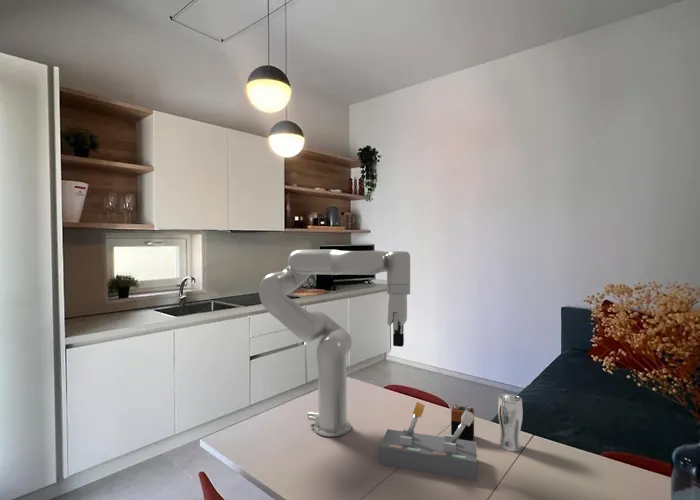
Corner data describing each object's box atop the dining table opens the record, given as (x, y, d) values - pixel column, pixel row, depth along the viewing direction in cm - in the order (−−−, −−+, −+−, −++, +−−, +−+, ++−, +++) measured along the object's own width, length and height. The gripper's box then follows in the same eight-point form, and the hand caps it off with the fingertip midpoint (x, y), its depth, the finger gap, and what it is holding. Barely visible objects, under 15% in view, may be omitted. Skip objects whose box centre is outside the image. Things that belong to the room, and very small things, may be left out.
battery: (473, 442, 122) (473, 410, 122) (451, 438, 124) (451, 407, 124) (474, 435, 126) (474, 405, 126) (452, 432, 128) (452, 402, 128)
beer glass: (521, 443, 121) (521, 395, 121) (523, 454, 115) (523, 403, 115) (497, 439, 124) (497, 392, 123) (498, 450, 117) (498, 400, 117)
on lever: (445, 445, 108) (465, 414, 106) (446, 439, 111) (465, 409, 109) (453, 450, 107) (473, 419, 105) (454, 445, 110) (473, 414, 108)
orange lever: (402, 439, 111) (415, 406, 110) (404, 434, 114) (417, 401, 113) (410, 443, 111) (423, 410, 109) (412, 438, 114) (424, 405, 112)
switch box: (379, 464, 109) (379, 438, 109) (387, 445, 120) (387, 421, 120) (476, 480, 102) (476, 453, 102) (476, 459, 112) (476, 434, 112)
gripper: (391, 286, 134) (391, 339, 134) (382, 291, 120) (382, 350, 120) (413, 287, 132) (413, 341, 132) (406, 292, 118) (406, 352, 118)
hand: (398, 345), depth 126 cm, fingers closed
